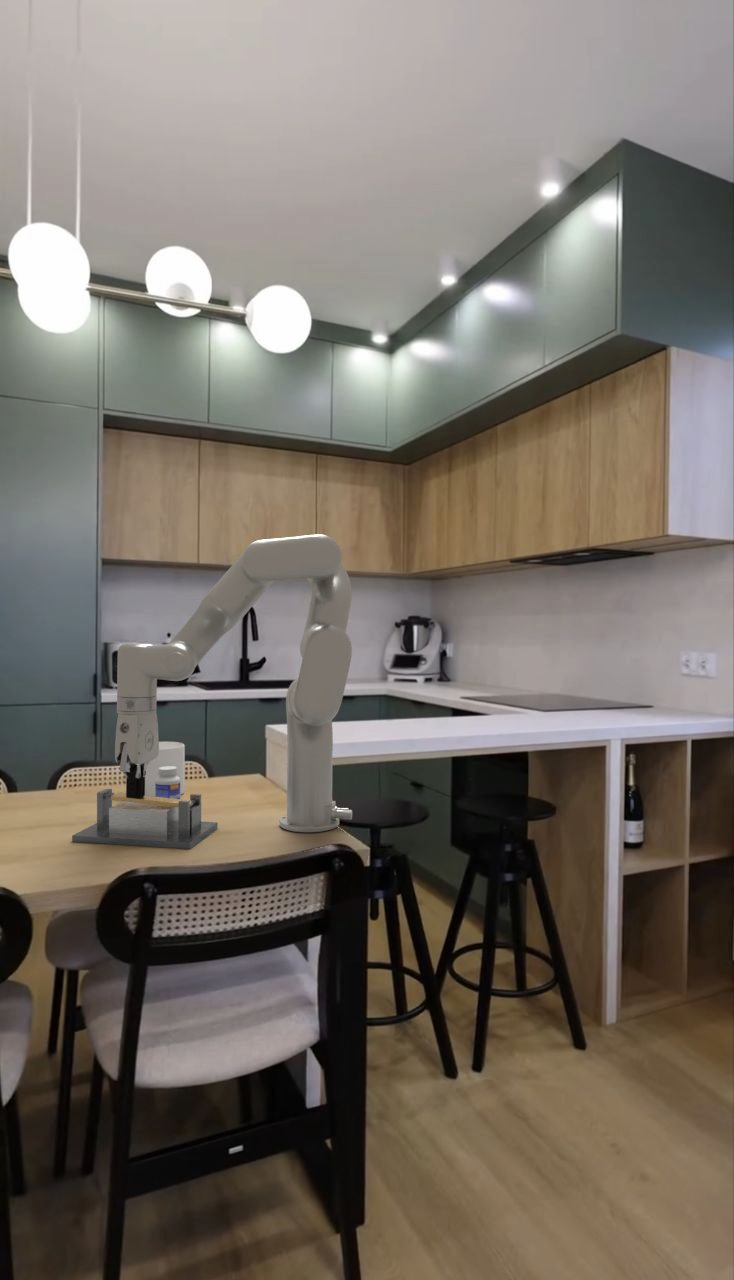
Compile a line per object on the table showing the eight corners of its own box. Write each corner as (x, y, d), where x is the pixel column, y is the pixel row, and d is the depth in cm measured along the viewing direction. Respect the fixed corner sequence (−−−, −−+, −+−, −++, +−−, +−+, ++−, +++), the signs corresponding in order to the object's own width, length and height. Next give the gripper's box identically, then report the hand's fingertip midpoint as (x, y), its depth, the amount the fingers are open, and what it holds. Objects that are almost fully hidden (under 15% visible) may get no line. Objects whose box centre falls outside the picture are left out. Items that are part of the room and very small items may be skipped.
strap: (196, 804, 143) (196, 800, 143) (188, 809, 139) (188, 805, 139) (119, 796, 146) (119, 791, 146) (109, 800, 142) (109, 796, 142)
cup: (145, 787, 184) (145, 741, 184) (190, 788, 183) (190, 741, 183) (128, 798, 172) (128, 749, 172) (176, 799, 172) (176, 749, 171)
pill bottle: (173, 814, 158) (173, 770, 158) (150, 813, 159) (150, 769, 159) (184, 808, 164) (184, 766, 163) (162, 807, 165) (162, 764, 165)
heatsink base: (217, 828, 148) (217, 787, 148) (190, 849, 134) (190, 804, 134) (109, 822, 152) (109, 782, 152) (72, 841, 138) (72, 798, 138)
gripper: (136, 710, 135) (135, 807, 135) (170, 702, 150) (169, 789, 150) (99, 708, 136) (98, 804, 136) (137, 700, 151) (135, 787, 151)
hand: (135, 796), depth 143 cm, fingers closed
